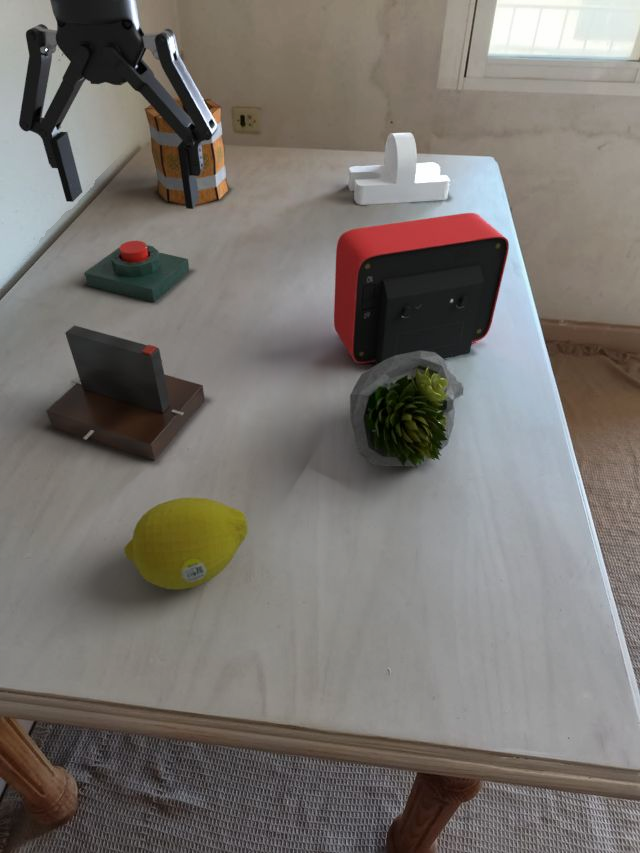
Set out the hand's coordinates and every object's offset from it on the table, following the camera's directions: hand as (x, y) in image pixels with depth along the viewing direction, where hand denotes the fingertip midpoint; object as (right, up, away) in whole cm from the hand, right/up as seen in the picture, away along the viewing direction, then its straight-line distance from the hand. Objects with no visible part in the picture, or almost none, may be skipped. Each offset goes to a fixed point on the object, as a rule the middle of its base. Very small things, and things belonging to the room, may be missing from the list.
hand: (133, 200), depth 70 cm
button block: (-7, -2, +27) cm, 28 cm away
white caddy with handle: (+36, +21, +53) cm, 67 cm away
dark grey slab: (-2, -22, +3) cm, 22 cm away
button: (-7, 0, +25) cm, 26 cm away
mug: (-4, +23, +54) cm, 59 cm away
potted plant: (+31, -28, +1) cm, 41 cm away
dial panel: (-2, -24, +4) cm, 24 cm away
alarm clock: (+34, -14, +16) cm, 40 cm away
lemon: (+9, -39, -11) cm, 41 cm away
